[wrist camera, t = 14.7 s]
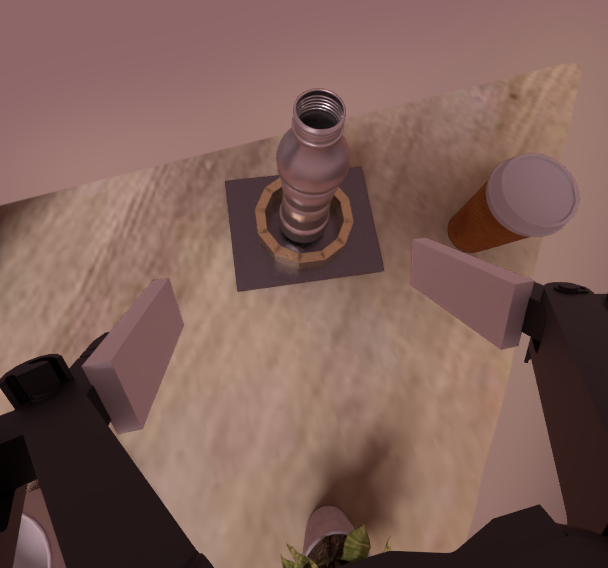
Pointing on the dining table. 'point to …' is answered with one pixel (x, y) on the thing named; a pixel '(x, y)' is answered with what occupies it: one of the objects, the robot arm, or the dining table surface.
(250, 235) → the collar stand
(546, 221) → the disposable coffee cup
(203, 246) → the dining table surface
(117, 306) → the dining table surface
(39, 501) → the teacup
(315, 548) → the house plant
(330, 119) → the plastic bottle
